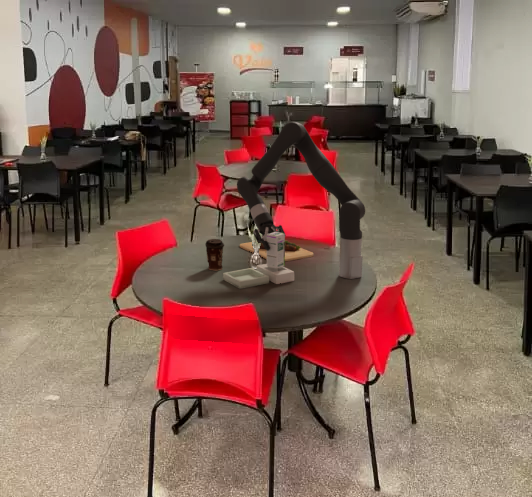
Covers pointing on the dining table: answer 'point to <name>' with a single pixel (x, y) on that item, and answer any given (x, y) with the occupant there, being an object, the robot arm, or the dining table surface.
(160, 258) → the dining table surface
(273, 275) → the holder
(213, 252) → the coffee cup
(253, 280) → the tray
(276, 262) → the syrup box
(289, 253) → the cutting board
